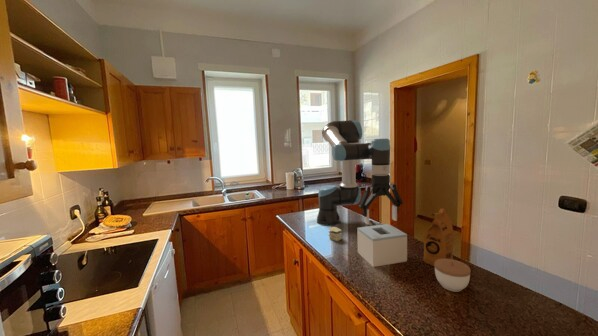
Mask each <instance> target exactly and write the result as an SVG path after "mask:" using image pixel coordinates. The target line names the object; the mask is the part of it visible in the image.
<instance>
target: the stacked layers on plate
mask: <svg viewBox="0 0 598 336" xmlns="http://www.w3.org/2000/svg"><path fill="white" fill-rule="evenodd" d="M328 233H329V234H328V237H329V240H330V241H331V240H332V241H335V242H339V241H340V240H342V238H343V237H342V229H340V228H339V227H337V226H332V227H330V228H328Z"/></svg>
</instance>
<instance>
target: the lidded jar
mask: <svg viewBox="0 0 598 336" xmlns="http://www.w3.org/2000/svg"><path fill="white" fill-rule="evenodd" d="M434 265H435V266H434V274H435V278H436V280H437V282H438V283H439V284H440V285H441V286H442V288H443V289H445V290H446V291H450V292H454V293H458V292H461V291H462V290H464V289H466V288H467V286H468V285H469V282H470V279H471V272H472V271H471V268H470V266H469V265H468V264H466V263H464V262H462V261H459V260H456V259H454V258H453V259H438V260H436V261H435V263H434Z"/></svg>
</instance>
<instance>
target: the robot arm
mask: <svg viewBox="0 0 598 336" xmlns="http://www.w3.org/2000/svg"><path fill="white" fill-rule="evenodd" d="M321 135H322V138H323V140H324V141H326V142H327V143H328V144H329V145H330V146H331V154H332V155H331V156H332V159H333V160H334V161H340V162H341V182H340V183H339V187H338V186H337V185H329V184H328V185H325V186H322V187H320V188H319V189H318V214H317V216H316V222H317V224H319V225H320V226H321V225H323V226H334V225H338V224H340V223H341V218H340V214H339V211H338V206H354V205H357V207H358V208H359V209H361V210H362V216H363V217H364V223H365V225H366V224H367V225H368V224H369V220H370V209H369V207H370V206H371V205H372V203H373V202H374V200H375V199H376V198H377V197H381V196H382V197H384V196H386V197H387V199H389V200H390V202H391V204H392V205H391V220H393V221H395V222H396V221H397V222H398V214H399V207H401V205H403V200H402V198H401V196H400V194H399V191H398V189H397V184H396V183H391V176H390V174H391V163H390V162H391V141H390V139H389V138H373V139H371V142H365V143H364V142H363V143H359V142H360V141H359V140H361V139H362V138H363V127H362V125H361V123H360V121H359V120H333V121H330V122H328V123H327V124H325V125H324V127H323V129H322V130H321ZM358 160H359V161H360V160H371V174H372V175H371V186H368V185H365V187H364V192H363V194H362V189H361V186H359V184H358V183H357V181H356V176H357V175H356V174H357V172H356V170H357V169H356V168H357V167H356V164H357V161H358ZM389 190H391V192H392V193H391V192H390V191H389Z"/></svg>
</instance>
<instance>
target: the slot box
mask: <svg viewBox="0 0 598 336" xmlns="http://www.w3.org/2000/svg"><path fill="white" fill-rule="evenodd" d="M356 236H357V237H356V238H357V253H358V255H360V256H361V257H362V259H364V260H365V261H366V262H367V263H369V264H370V266H371V267H372V268H374V267H380V266H381V267H382V266H386V265H393V264H398V263H405V262H407V261H408V234H407V233H406V232H404V231H402V230H400V229H398V228H397V227H395V226H393V225H392V224H390V223H385V224H376V225H375V226H367V227H365V226H361V227H357V235H356Z"/></svg>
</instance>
